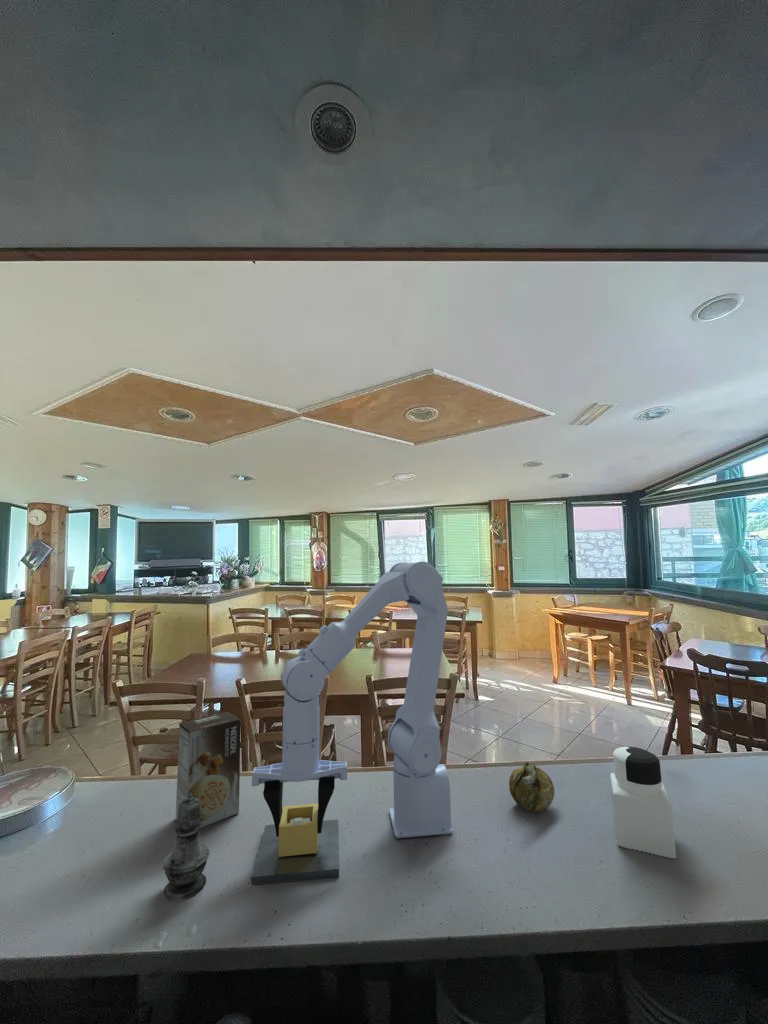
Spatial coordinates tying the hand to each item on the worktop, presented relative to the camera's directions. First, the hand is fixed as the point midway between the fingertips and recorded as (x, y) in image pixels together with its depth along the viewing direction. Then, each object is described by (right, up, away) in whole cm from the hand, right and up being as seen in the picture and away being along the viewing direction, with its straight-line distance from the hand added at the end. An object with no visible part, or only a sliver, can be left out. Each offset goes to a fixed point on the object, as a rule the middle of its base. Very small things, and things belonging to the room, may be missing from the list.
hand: (299, 831), depth 65 cm
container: (+54, -3, +2) cm, 54 cm away
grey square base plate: (0, -3, 0) cm, 3 cm away
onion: (+40, -4, +11) cm, 42 cm away
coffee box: (-18, -5, +9) cm, 21 cm away
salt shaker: (-14, -2, -7) cm, 16 cm away
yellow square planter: (0, -2, 0) cm, 2 cm away
